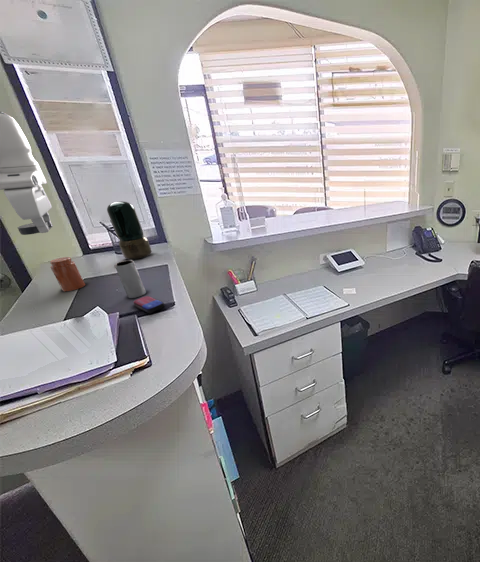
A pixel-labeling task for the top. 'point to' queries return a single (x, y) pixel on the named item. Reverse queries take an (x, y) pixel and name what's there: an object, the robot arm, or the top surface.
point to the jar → (67, 274)
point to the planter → (130, 278)
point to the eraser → (148, 304)
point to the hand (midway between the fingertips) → (47, 230)
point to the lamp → (128, 230)
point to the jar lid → (30, 229)
